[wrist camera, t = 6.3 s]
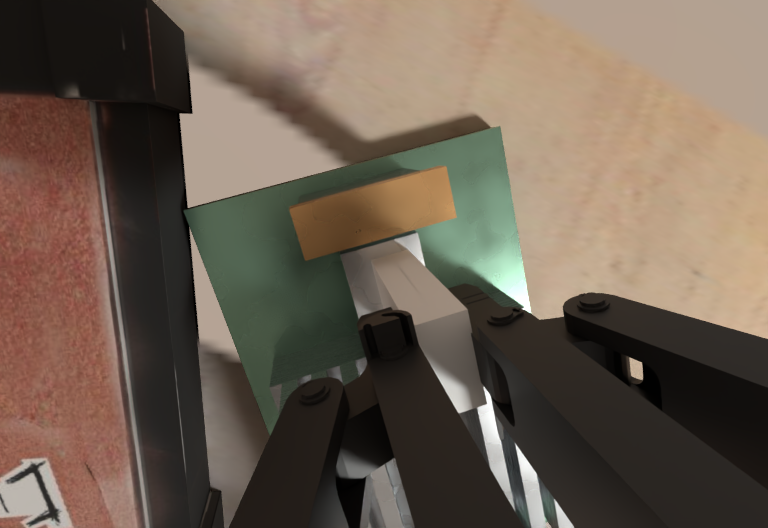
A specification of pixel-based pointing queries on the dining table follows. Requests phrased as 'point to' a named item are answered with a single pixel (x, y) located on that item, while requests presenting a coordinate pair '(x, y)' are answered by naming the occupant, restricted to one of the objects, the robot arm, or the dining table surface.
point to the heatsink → (332, 292)
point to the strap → (362, 270)
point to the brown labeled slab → (97, 273)
